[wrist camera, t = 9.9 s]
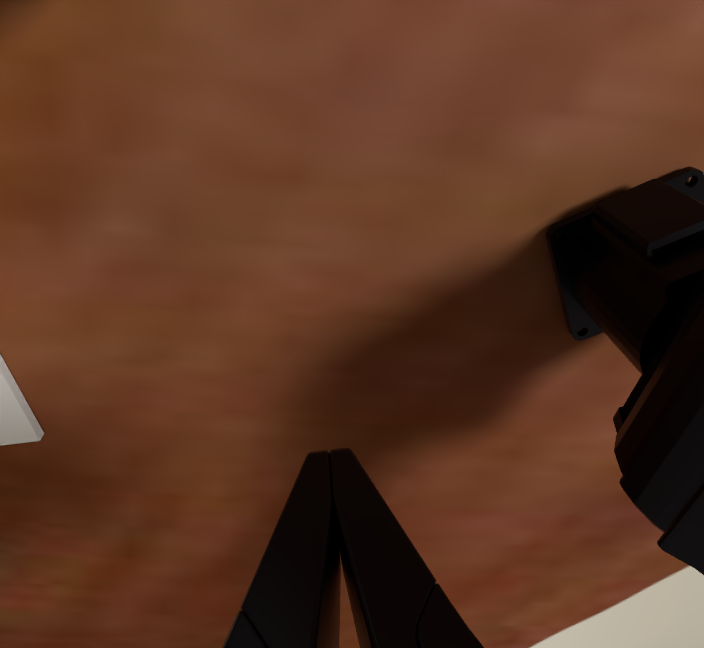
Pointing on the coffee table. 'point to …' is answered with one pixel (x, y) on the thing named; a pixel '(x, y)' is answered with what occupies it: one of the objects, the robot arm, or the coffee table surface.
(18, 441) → the grey mat
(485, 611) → the coffee table surface
